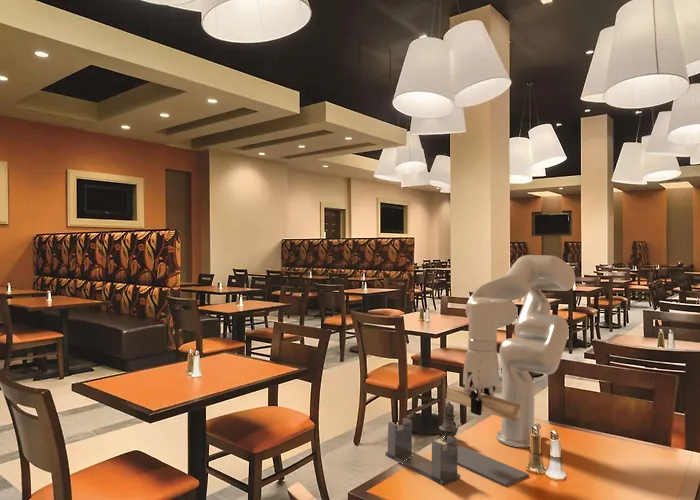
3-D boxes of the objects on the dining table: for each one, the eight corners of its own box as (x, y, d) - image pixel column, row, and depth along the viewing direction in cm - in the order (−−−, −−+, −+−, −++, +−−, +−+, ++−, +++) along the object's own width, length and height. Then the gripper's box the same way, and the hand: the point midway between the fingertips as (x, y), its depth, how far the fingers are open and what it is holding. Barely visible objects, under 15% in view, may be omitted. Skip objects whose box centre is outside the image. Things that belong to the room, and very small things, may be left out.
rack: (401, 450, 147) (402, 416, 147) (460, 478, 130) (460, 440, 130) (385, 455, 143) (385, 421, 143) (443, 485, 126) (443, 446, 126)
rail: (455, 397, 147) (455, 385, 147) (520, 418, 130) (520, 404, 130) (446, 399, 145) (446, 387, 145) (511, 420, 128) (512, 406, 128)
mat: (460, 447, 150) (460, 445, 150) (528, 476, 132) (528, 473, 132) (437, 455, 144) (437, 453, 144) (505, 486, 126) (505, 484, 126)
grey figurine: (458, 443, 153) (458, 404, 153) (438, 442, 154) (439, 402, 154) (458, 436, 159) (458, 398, 159) (439, 435, 160) (439, 397, 160)
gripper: (490, 340, 146) (489, 404, 145) (451, 346, 136) (450, 414, 136) (512, 344, 140) (511, 410, 139) (473, 351, 130) (472, 422, 130)
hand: (481, 411), depth 137 cm, fingers closed on rail, 3 cm apart
